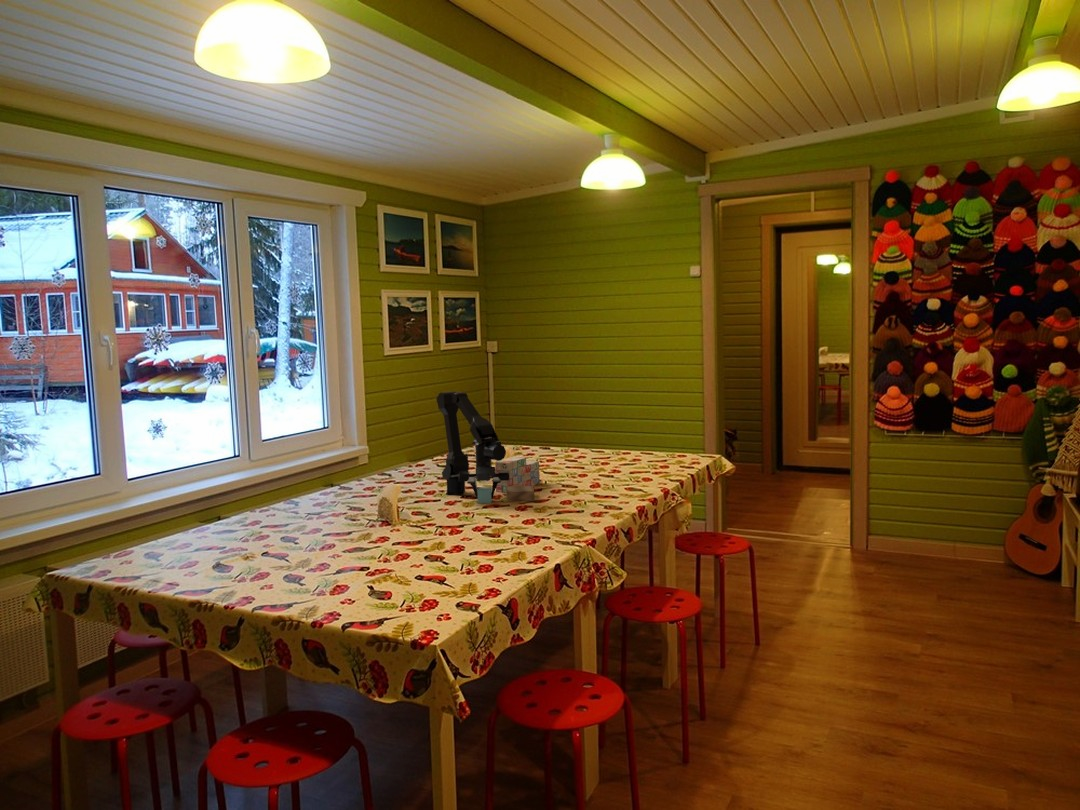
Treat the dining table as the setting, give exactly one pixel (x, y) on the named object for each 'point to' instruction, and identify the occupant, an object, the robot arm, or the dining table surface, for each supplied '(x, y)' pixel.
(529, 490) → the walnut block
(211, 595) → the dining table surface
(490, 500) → the teal cube
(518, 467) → the stack of blocks
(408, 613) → the dining table surface
